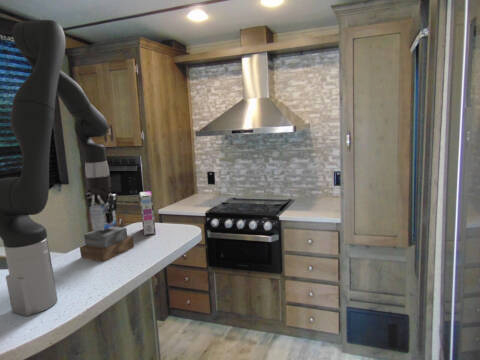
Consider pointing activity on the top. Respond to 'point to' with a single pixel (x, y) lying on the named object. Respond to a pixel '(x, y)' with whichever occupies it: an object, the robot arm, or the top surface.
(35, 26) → the robot arm
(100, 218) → the medicine box
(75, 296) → the top surface
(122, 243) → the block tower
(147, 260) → the top surface
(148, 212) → the white cardboard box
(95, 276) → the top surface
